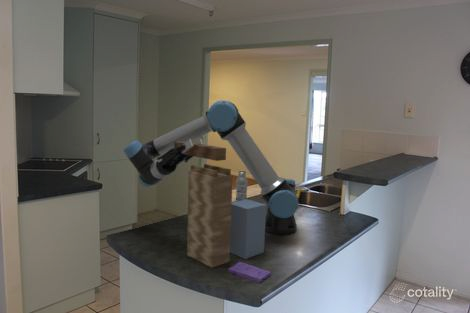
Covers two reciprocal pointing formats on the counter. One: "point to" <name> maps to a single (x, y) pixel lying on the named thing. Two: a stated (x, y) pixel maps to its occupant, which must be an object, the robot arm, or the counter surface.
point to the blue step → (247, 228)
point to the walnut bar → (204, 151)
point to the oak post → (209, 214)
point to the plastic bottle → (241, 186)
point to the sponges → (249, 272)
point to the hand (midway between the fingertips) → (196, 142)
